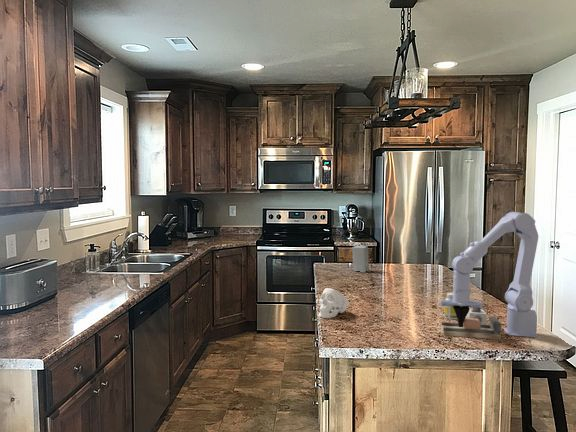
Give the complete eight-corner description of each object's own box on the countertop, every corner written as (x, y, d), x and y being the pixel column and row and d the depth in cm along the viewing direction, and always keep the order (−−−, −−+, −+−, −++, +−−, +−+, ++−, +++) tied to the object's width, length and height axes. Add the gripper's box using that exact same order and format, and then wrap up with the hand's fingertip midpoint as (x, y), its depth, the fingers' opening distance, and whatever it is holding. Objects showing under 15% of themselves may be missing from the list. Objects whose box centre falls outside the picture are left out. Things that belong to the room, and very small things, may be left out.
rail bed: (495, 331, 173) (495, 316, 173) (500, 339, 165) (501, 323, 164) (441, 327, 177) (441, 313, 177) (443, 335, 169) (444, 320, 168)
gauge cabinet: (483, 323, 183) (483, 309, 183) (486, 328, 177) (486, 314, 177) (466, 322, 184) (467, 308, 184) (469, 327, 178) (469, 313, 178)
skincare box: (368, 271, 295) (369, 246, 294) (364, 273, 289) (364, 247, 288) (356, 269, 299) (356, 245, 298) (351, 271, 293) (352, 246, 292)
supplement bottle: (460, 317, 192) (461, 293, 191) (455, 320, 187) (455, 296, 187) (447, 315, 195) (448, 291, 194) (442, 317, 191) (442, 294, 190)
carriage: (477, 327, 173) (478, 318, 172) (480, 331, 168) (480, 322, 167) (463, 326, 174) (463, 317, 174) (465, 330, 169) (465, 321, 168)
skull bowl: (308, 312, 193) (318, 285, 197) (326, 324, 202) (335, 298, 206) (328, 317, 186) (338, 288, 190) (346, 329, 195) (355, 302, 199)
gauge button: (479, 319, 182) (479, 306, 181) (480, 321, 179) (481, 308, 179) (471, 319, 182) (472, 306, 182) (473, 321, 180) (473, 308, 179)
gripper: (441, 290, 168) (440, 328, 169) (484, 292, 165) (483, 330, 166) (439, 286, 175) (438, 322, 176) (481, 288, 172) (480, 325, 173)
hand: (460, 326), depth 172 cm, fingers closed
